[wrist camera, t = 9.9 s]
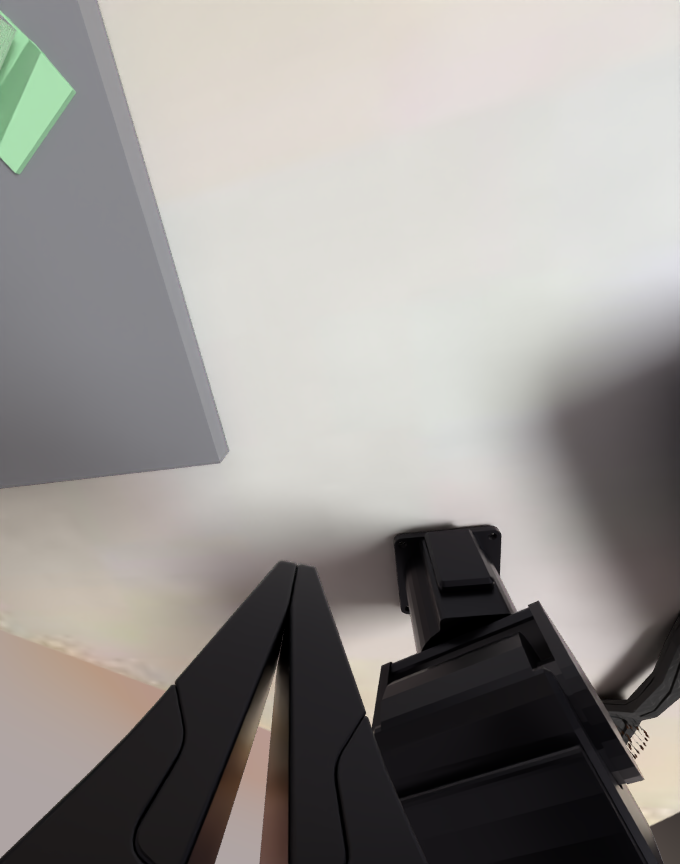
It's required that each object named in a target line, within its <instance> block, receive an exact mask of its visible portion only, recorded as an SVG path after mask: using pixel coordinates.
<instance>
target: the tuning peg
mask: <svg viewBox="0 0 680 864" xmlns="http://www.w3.org/2000/svg"><path fill="white" fill-rule="evenodd" d="M16 32H17V30H16V29H15V28H14V27H13V26H12V25H11V24H10V23H9V22H8V21H7V20H6V19H5V18H4V17H3V16H2V15H1V14H0V70H1V67H2V65H3V63H4V60H5V58H6V56H7V53H8V51H9V49H10V46H11V44H12V42H13V39H14V37H15V34H16Z"/></svg>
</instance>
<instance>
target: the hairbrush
mask: <svg viewBox="0 0 680 864" xmlns="http://www.w3.org/2000/svg"><path fill="white" fill-rule="evenodd" d="M679 698H680V615H679V617H678V619H677V621H676V623H675V624H674V626H673V628H672V630H671V632H670V634H669V635H668V637H667V639H666V642H665V644H664V647H663V649H662V651H661V654H660V656H659V658H658V661H657V663H656V666H655V668H654V670H653V672H652V673H651V674H650V675H649V676H648V678H647V679H646V680H645V681H644V682H643V683H642V684H641V685H640V686H639V687H638V688H637V690H636V691H635V692H634V693H633V694H632V695H631V696H630V697H629V698H628V699H627V700H601V701H602V703H603V704H604V706H605V708H606V710H607V711H608V713H609V715H610V717H611V719H612V721H613V722H614V724H615V726H616V728H617V730H618V732H619V733H620V735H621V737H622V739H623V741H624V743H625V744H626V745H627V743H628V741H630V742H631V743H632V741H631V739H630V738H631V737H632V735H633V734H634V733H635V731H636V729H637V730H639V728H638V726H639V724H640V722H641V721H642V720H646V719H651V718H655V717H658V716H659V715H660V714H661V713H662V712H664V711H665V710H666V709H667V708H668V707H669V706H671V705H672V704H673V703H674V702H675V701H677V700H678V699H679ZM622 719H623V721H622ZM640 729H641V728H640ZM641 730H642V731H644V730H643V729H641ZM644 733H645V735H646V736H647V737H648V738H649V736H648V735H647V732H646V731H644ZM643 737H644V736H643ZM632 738H633V737H632ZM638 738H639V737H638ZM644 738H645V737H644ZM639 739H640V738H639ZM640 740H641V739H640ZM645 740H646V741H648V740H647V739H646V738H645ZM631 743H630V744H631ZM630 744H629V743H628V745H629V746H630V747H629V748H630V750H631V745H632V744H631V745H630ZM643 744H644V745H645V743H644V742H643ZM638 745H639V744H638ZM632 746H633V745H632ZM639 746H640V747H641V749H642V750H643V749H644V748H643V747H642V746H641V745H639ZM645 746H646V745H645ZM633 747H634V746H633ZM628 750H629V749H628ZM635 750H636V749H635ZM631 751H632V750H631ZM636 751H637V750H636ZM630 753H631V752H630ZM637 753H638V754H639V751H637ZM631 754H632V753H631ZM632 755H633V754H632ZM634 755H635V756H636V757H637V755H636V754H634ZM634 755H633V757H634V758H635V759H636V757H635V756H634Z"/></svg>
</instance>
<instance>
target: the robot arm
mask: <svg viewBox="0 0 680 864" xmlns="http://www.w3.org/2000/svg"><path fill="white" fill-rule="evenodd" d="M492 533H494V534H493V535H492V536H489V535H490V534H492ZM400 542H405V543H403V544H400ZM394 549H395V559H396V568H397V578H398V587H399V596H400V605H401V610H402V612H403V613H405V614H410V616H411V622H412V627H413V633H414V639H415V645H416V651H417V653H416V654H414V655H412V656H409V657H407V658H404V659H402V660H399V661H397V662H395V663H392V662H389V663H387V664H384V665H382V666H381V672H380V679H379V685H378V691H377V698H376V704H375V711H374V717H373V724H372V728H371V725H370V722H369V719H368V717H367V716H365V715H366V711H365V708H364V705H363V702H362V699H361V696H360V694H359V691H358V688H357V685H356V682H355V679H354V676H353V673H352V671H351V668H350V665H349V662H348V659H347V656H346V653H345V650H344V647H343V645H342V642H341V639H340V636H339V633H338V630H337V627H336V624H335V622H334V619H333V616H332V613H331V610H330V607H329V604H328V601H327V598H326V596H325V593H324V590H323V587H322V584H321V581H320V578H319V575H318V572H317V570H316V568H315V567H314V566H312V565H307V564H298V566H297V564H296V563H295V562H290V561H285V560H280V561H279V562H278V563H277V564H276V565H275V566H274V567H273V569H272V570H271V571H270V572H269V573H268V574H267V576H266V577H265V578H264V579H263V580H262V581H261V582H260V584H259V585H258V586H257V587H256V588H255V589H254V591H253V592H252V593H251V594H250V595H249V596H248V597H247V599H246V600H245V601H244V602H243V603H242V604H241V606H240V607H239V608H238V609H237V610H236V611H235V612H234V614H233V615H232V616H231V617H230V618H229V619H228V621H227V622H226V623H225V624H224V625H223V626H222V628H221V629H220V630H219V631H218V632H217V633H216V634H215V636H214V637H213V638H212V639H211V640H210V641H209V643H208V644H207V645H206V646H205V647H204V648H203V649H202V651H201V652H200V653H199V654H198V655H197V656H196V658H195V659H194V660H193V661H192V662H191V663H190V664H189V666H188V667H187V668H186V669H185V670H184V671H183V673H182V674H181V675H180V676H179V677H178V678H177V679H176V681H175V685H171V686H170V687H169V688H168V690H167V691H166V692H165V693H164V694H163V696H162V697H161V698H160V699H159V700H158V701H157V702H156V704H155V705H154V706H153V707H152V708H151V709H150V710H149V711H148V712H147V713H146V715H145V716H144V717H143V718H142V719H141V720H140V721H139V722H138V723H137V724H136V725H135V727H134V728H133V729H132V730H131V731H130V732H129V733H128V734H127V735H126V736H125V737H124V738H123V739H122V740H121V741H120V743H118V744H117V745H116V746H115V747H114V748H113V749H112V750H111V751H110V752H109V753H108V754H107V755H106V756H105V757H104V758H103V760H102V761H101V762H99V763H98V764H97V765H96V766H95V767H94V768H93V770H91V771H90V772H89V773H88V774H87V775H86V776H85V777H84V778H83V779H82V780H81V781H80V782H79V783H78V784H77V785H76V786H75V787H74V788H73V789H72V790H71V791H70V792H69V793H68V794H67V795H66V796H64V798H62V799H61V800H60V801H59V802H58V803H57V804H56V805H55V806H54V807H53V808H52V809H51V810H50V811H49V812H48V813H47V814H46V815H45V816H44V817H43V818H42V819H41V820H40V821H39V822H38V823H36V824H35V825H34V827H32V828H31V829H30V830H29V831H28V832H27V833H26V834H25V835H24V836H23V837H22V838H21V839H20V840H19V841H18V842H17V843H16V844H15V845H14V846H13V847H12V848H11V849H10V850H8V851H7V852H6V853H5V854H4V855H3V856H2V857H1V858H0V864H215V861H216V858H217V855H218V852H219V848H220V845H221V842H222V839H223V835H224V832H225V829H226V826H227V823H228V820H229V817H230V814H231V810H232V807H233V804H234V801H235V798H236V794H237V791H238V788H239V785H240V782H241V779H242V775H243V772H244V769H245V766H246V763H247V760H248V756H249V753H250V750H251V747H252V744H253V741H254V737H255V734H256V731H257V728H258V725H259V722H260V718H261V715H262V712H263V709H264V706H265V703H266V699H267V696H268V693H269V690H270V687H271V683H272V680H273V677H274V673H275V670H276V666H277V673H276V682H275V694H274V705H273V716H272V728H271V740H270V750H269V763H268V773H267V784H266V796H265V808H264V819H263V830H262V842H261V853H260V864H664V863H663V861H662V858H661V855H660V852H659V850H658V847H657V844H656V842H655V839H654V836H653V834H652V832H651V829H650V827H649V825H648V823H647V821H646V819H645V817H644V816H643V814H642V812H641V810H640V808H639V807H638V805H637V803H636V801H635V800H634V798H633V796H632V794H631V793H630V791H629V789H628V787H627V785H626V783H627V784H630V783H634V782H638V781H642V780H644V778H643V776H642V774H641V772H640V770H639V768H638V766H637V765H636V763H635V761H634V759H633V757H632V755H631V754H630V752H629V750H628V748H627V746H626V744H625V743H624V741H623V739H622V737H621V735H620V733H619V732H618V730H617V728H616V726H615V724H614V722H613V721H612V719H611V717H610V715H609V713H608V711H607V710H606V708H605V706H604V704H603V703H602V701H601V700H600V698H599V696H598V695H597V693H596V691H595V690H594V688H593V686H592V685H591V683H590V681H589V680H588V678H587V676H586V675H585V673H584V671H583V670H582V668H581V666H580V665H579V663H578V661H577V660H576V658H575V657H574V655H573V653H572V652H571V650H570V649H569V647H568V646H567V644H566V643H565V641H564V639H563V638H562V636H561V635H560V633H559V632H558V630H557V629H556V627H555V625H554V624H553V622H552V621H551V619H550V618H549V616H548V615H547V613H546V612H545V610H544V608H543V607H542V605H541V604H540V602H539V601H537V602H534V603H532V604H529V605H528V608H526V609H523V610H521V611H519V612H517V610H516V608H515V606H514V604H513V602H512V600H511V598H510V596H509V594H508V592H507V590H506V588H505V586H504V584H503V582H502V580H501V578H500V558H501V533H500V531H499V530H498V528H497V527H495V526H484V527H474V528H463V529H452V530H441V531H431V532H420V533H409V534H400V535H397V536H396V537H395V538H394ZM296 569H297V570H296ZM295 574H296V575H295ZM407 606H408V607H407ZM282 638H283V639H282ZM281 643H282V644H281ZM280 648H281V649H280ZM279 653H280V654H279ZM278 657H279V660H278ZM277 662H278V665H277Z"/></svg>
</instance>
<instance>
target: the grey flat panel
mask: <svg viewBox="0 0 680 864" xmlns="http://www.w3.org/2000/svg"><path fill="white" fill-rule="evenodd" d="M0 14H1V15H2V16H3V17H4V18H5V19H6V20H7V21H8V22H9V23H10V24H11V25H12V26H13V27H14V28H15V29H16V30H17V32H16V34H15V37H14V39H13V42H12V44H11V46H10V49H9V51H8V53H7V56H6V58H5V60H4V63H3V65H2V67H1V70H0V489H1V488H9V487H18V486H27V485H35V484H44V483H53V482H61V481H70V480H79V479H87V478H96V477H105V476H113V475H122V474H131V473H139V472H148V471H156V470H165V469H174V468H182V467H191V466H200V465H208V464H217V463H221V461H222V460H223V459H224V457H225V456H226V455H227V453H228V452H229V449H228V446H227V442H226V439H225V435H224V432H223V428H222V425H221V422H220V418H219V415H218V411H217V408H216V405H215V401H214V398H213V394H212V391H211V388H210V384H209V381H208V377H207V374H206V370H205V367H204V364H203V360H202V357H201V353H200V350H199V347H198V343H197V340H196V336H195V333H194V329H193V326H192V323H191V319H190V316H189V312H188V309H187V306H186V302H185V299H184V295H183V292H182V288H181V285H180V282H179V278H178V275H177V271H176V268H175V265H174V261H173V258H172V254H171V251H170V248H169V244H168V241H167V237H166V234H165V230H164V227H163V224H162V220H161V217H160V213H159V210H158V207H157V203H156V200H155V196H154V193H153V189H152V186H151V183H150V179H149V176H148V172H147V169H146V166H145V162H144V159H143V155H142V152H141V149H140V145H139V142H138V138H137V135H136V131H135V128H134V125H133V121H132V118H131V114H130V111H129V108H128V104H127V101H126V97H125V94H124V90H123V87H122V84H121V80H120V77H119V73H118V70H117V67H116V63H115V60H114V56H113V53H112V50H111V46H110V43H109V39H108V36H107V32H106V29H105V26H104V22H103V19H102V15H101V12H100V9H99V5H98V2H97V0H0Z"/></svg>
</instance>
